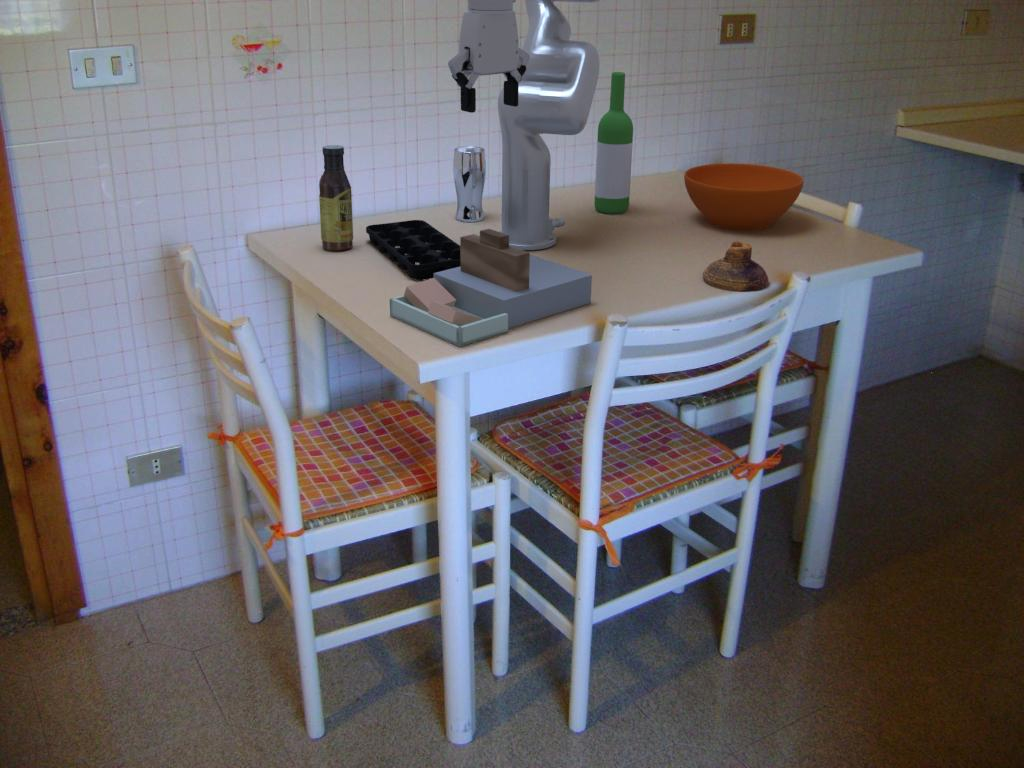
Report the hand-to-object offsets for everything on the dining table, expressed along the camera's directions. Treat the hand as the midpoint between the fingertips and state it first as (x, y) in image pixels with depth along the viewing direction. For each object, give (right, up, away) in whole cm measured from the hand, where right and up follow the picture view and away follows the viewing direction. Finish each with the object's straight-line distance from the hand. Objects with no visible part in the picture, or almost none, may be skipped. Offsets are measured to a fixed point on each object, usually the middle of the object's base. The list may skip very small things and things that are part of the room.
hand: (489, 108), depth 183 cm
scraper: (+1, -30, -5) cm, 30 cm away
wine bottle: (+26, -8, +57) cm, 63 cm away
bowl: (+53, -12, +50) cm, 74 cm away
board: (+4, -33, 0) cm, 34 cm away
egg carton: (-14, -23, +24) cm, 36 cm away
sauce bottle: (-31, -21, +28) cm, 46 cm away
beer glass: (-5, -12, +49) cm, 50 cm away
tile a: (-10, -34, -6) cm, 36 cm away
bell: (+45, -29, +12) cm, 55 cm away
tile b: (-5, -36, -14) cm, 39 cm away
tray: (-7, -38, -10) cm, 39 cm away
